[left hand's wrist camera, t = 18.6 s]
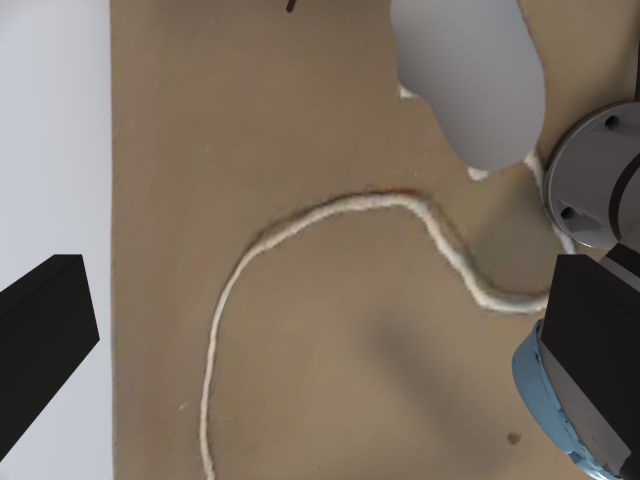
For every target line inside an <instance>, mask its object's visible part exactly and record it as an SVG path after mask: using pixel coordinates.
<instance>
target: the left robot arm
mask: <svg viewBox="0 0 640 480" xmlns="http://www.w3.org/2000/svg"><path fill="white" fill-rule="evenodd" d="M543 198H544V203H545V207H546V210H547V212H548V214H549V216H550V218H551V219H552V221H553V222H554V223H555V225H556V226H557V227H558V228H559V229H560V230H561V231H563V232H564V233H565V234H567V235H568V236H570V237H571V238H573V239H574V240H576V241H578V242H580V243H582V244H584V245H587V246H590V247H595V248H599V249H606V250H610V251H609V252H608V253H607V254H606V255H605V256H604V257H603V258H602V259H601V260H600V261H599V262H598V263H597V262H596V261H594V260H593V259H592V258H590V257H589V256H587V255H586V254H558V257H557V262H556V266H555V271H554V276H553V281H552V285H551V290H550V295H549V300H548V304H547V309H546V314H545V317H544V318H543V319H540V320H538V321H537V322H536V323H535V325H534V327H533V331H532V332H531V333H530V334H529V335H528V336H527V338H526V339H525V340H524V341H523V342H522V343H521V344H520V346H519V347H518V348H517V349H516V351H515V352H514V355H513V358H512V374H513V379H514V382H515V384H516V387H517V390H518V392H519V394H520V396H521V398H522V399H523V401H524V403H525V405H526V407H527V408H528V410H529V411H530V413H531V414H532V416H533V417H534V419H535V420H536V422H537V423H538V424H539V426H540V427H541V428H542V430H543V431H544V432H545V433H546V435H547V436H548V437H549V438H550V439H551V441H552V442H553V443H554V444H555V445H556V446H557V447H558V448H559V449H560V450H561V451H562V452H563V453H568V455H569V457H570V458H571V459H572V461H573V462H574V464H575V465H576V466H577V467H579V468H580V469H581V470H582V471H583V472H585V473H586V474H588V475H589V476H591V477H592V478H594V479H596V480H640V42H639V50H638V70H637V81H636V91H635V100H632V101H623V102H617V103H613V104H610V105H607V106H604V107H602V108H600V109H597V110H595V111H593V112H592V113H590V114H588V115H587V116H585V117H584V118H582V119H581V120H580V121H578V122H577V123H576V124H575V125H574V126H573V127H572V128H571V129H569V130H568V131H567V133H566V134H565V135H564V136H563V137H562V139H561V140H560V141H559V143H558V144H557V146H556V147H555V149H554V150H553V152H552V154H551V156H550V158H549V161H548V163H547V166H546V170H545V174H544V179H543ZM99 340H100V338H99V333H98V328H97V324H96V319H95V314H94V309H93V304H92V300H91V295H90V290H89V285H88V281H87V276H86V271H85V266H84V262H83V257H82V255H79V254H75V255H74V254H70V255H69V254H55V255H53V256H51V257H50V258H48V259H47V260H46V261H44V262H43V263H41V264H40V265H38V266H37V267H36V268H34V269H33V270H31V271H30V272H28V273H27V274H26V275H24V276H23V277H21V278H20V279H18V280H17V281H16V282H14V283H13V284H11V285H10V286H8V287H7V288H6V289H4V290H3V291H1V292H0V462H1V461H2V459H3V458H4V457H5V456H6V455H7V453H8V452H9V451H10V450H11V448H12V447H13V446H14V445H15V444H16V442H17V441H18V440H19V439H20V437H21V436H22V435H23V434H24V432H25V431H26V430H27V429H28V428H29V426H30V425H31V424H32V423H33V421H34V420H35V419H36V418H37V416H38V415H39V414H40V413H41V412H42V410H43V409H44V408H45V407H46V405H47V404H48V403H49V402H50V400H51V399H52V398H53V397H54V396H55V394H56V393H57V392H58V391H59V389H60V388H61V387H62V386H63V384H64V383H65V382H66V381H67V379H68V378H69V377H70V376H71V375H72V373H73V372H74V371H75V370H76V368H77V367H78V366H79V365H80V364H81V362H82V361H83V360H84V359H85V357H86V356H87V355H88V354H89V352H90V351H91V350H92V349H93V347H94V346H95V345H96V344H97V343H98V341H99Z"/></svg>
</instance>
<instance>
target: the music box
mask: <svg viewBox="0 0 640 480" xmlns="http://www.w3.org/2000/svg"><path fill="white" fill-rule="evenodd" d="M295 3H296V0H289V3H288V5H287V8H286V10H287V12H289V13H291V12H292V11H293V8H294V6H295Z"/></svg>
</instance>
